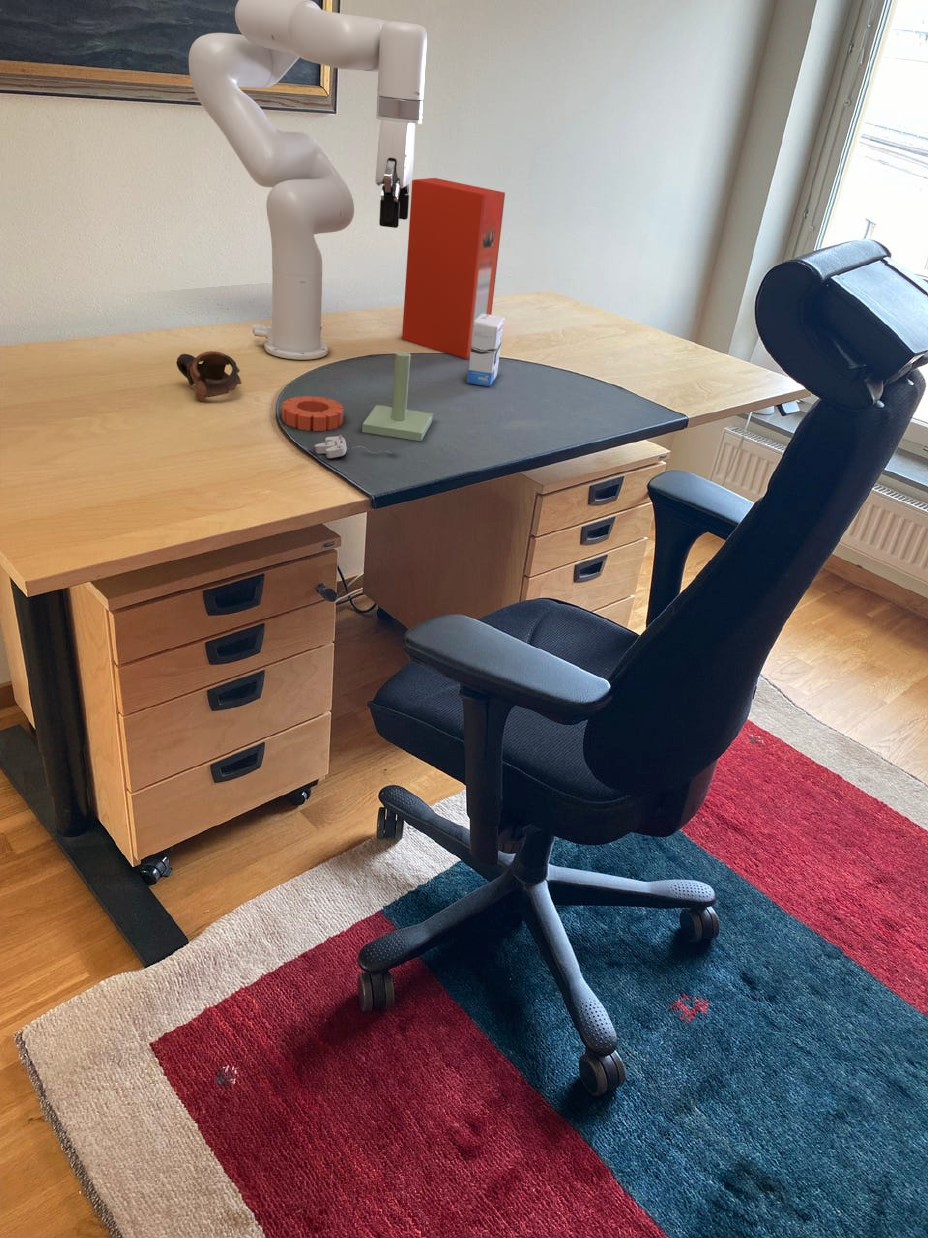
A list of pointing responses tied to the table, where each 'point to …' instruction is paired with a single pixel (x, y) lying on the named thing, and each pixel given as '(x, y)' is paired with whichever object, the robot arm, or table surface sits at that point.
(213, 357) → the pottery mug
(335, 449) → the white power plug
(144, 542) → the table surface
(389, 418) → the post
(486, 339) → the ink box
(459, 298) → the file binder
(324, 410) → the ring
